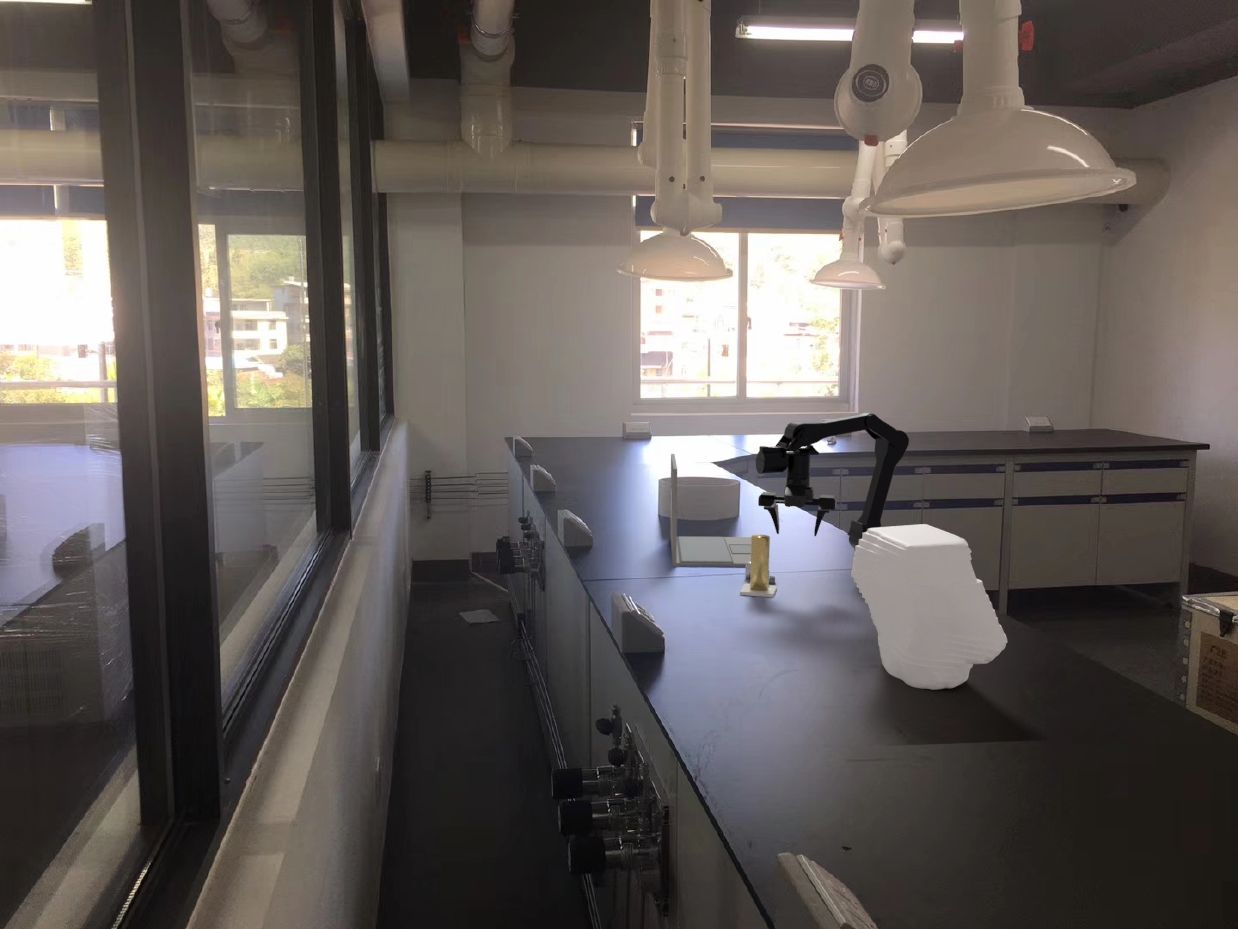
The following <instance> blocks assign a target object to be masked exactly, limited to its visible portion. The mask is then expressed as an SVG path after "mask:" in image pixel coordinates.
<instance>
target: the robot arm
mask: <svg viewBox="0 0 1238 929" xmlns="http://www.w3.org/2000/svg"><path fill="white" fill-rule="evenodd" d="M861 431H865V433H866V434H867V435H868V436H869V437H870V438H872V439H873V440H874V441H875V442H874V453H875V454H874V456H875V461H876V462H875V466H874V469H873V473H872V475H871V476H872V477H871V480H870V483H869V484H870V485H869V487H868V491H867V494H866V497H865V498H866V499H865V502H864V506H863V510H862V514H861V516H860V517H859V518H858V520H857V521H856V520H854V519H852V520H851V521H850V528H849V531H848V533H847V536H848V542H849V543H848V544H850V546H851V548H853V550H854V551H855V546H857V545H859V539H862V533H864V532H866V531H867V530H868V529H869V528H877V527H882V517H883V514H884V510H885V506H886V502H887V499H888V495H889V493H890V492H889V491H890V487H891V484H892V481H893V476H894V473H895V469H896V467H897V465H898V464H899V462H900V461H901V460H902V459H903V458H904V456H905V454H906V452H907V449H908V447H909V444H910V438H909V437H908V434H907V433H906V432H905V431H903V430H901V429H896V428H895V427H894V426H892V425H890V424H888V423H887V422H885V421H884V420H882V419H881V418H879V416H877V415H876V414H874V413H871V412H862V413H860V414H855V415H851V416H845V417H840V418H839V417H838V418H833V419H828V420H824V421H791V422H789V423H788V424H787V426H786V427H784V433H783V434H782V436H781V438H780V439H779V441H777V443H776V445H775V446H766V445H760V446H759V451H758V452H757V455H756V458H755V469H756V472H757V473H758V474H759V475H771V474H772V475H774V474H775V475H777V474H784V472H785V471H786V474H785V476H786V482H785V484H786V485H785V487H784V495H778V493H777V492H772V491H771V492H770V491H763V492H761V493H760V495H759V496H758V501H757V502H758V503H757V504H758V507H763V510H764V511H765V510H766V511H768V513H769V515H770V516H771V517H770V518H771V519H772V521H773V525H774V528H775V532H776V534H777V535H779V534H780V515H779V513H780V512H779V505H778V504H783V505H784V506H785V507H786V508H791V507H794V508H795V507H797V508H805V506H818V509H817V511H816V519H815V526H814V532H813V533H814V534H813V536H814V537H817V534H818V531H819V529H820V525H821V524H822V521H823V519H824V517H825V514H829V513H831V511H832V510H833V511H834V510H836V508H837V506H838V505H837V501H838V500H837V499H838V498H837V496H835V495H834V494H833V495H832V494H820V495H819V497H814V495H815V494H814V493H815V492H814V487H813V486H810V484H811V482H810V481H811V456H818V455H819V454H820V452H819V451H818V450H817V449H816V448H815V447H814V444H817V443H818V442H820V441H822V440H823V439H827V438H830V437H835V436H841V435H845V434H850V433H855V432H861Z"/></svg>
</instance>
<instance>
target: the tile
mask: <svg viewBox="0 0 1238 929" xmlns="http://www.w3.org/2000/svg"><path fill="white" fill-rule="evenodd" d="M777 590H778V585H774V584H769V585H768V590H766V591H755V590H752V589H750V583H744V584H743V586H742V588H741V589H740V591H739V596H740V595H741V596H753V597H763V598H765V597H766V598H774V597H775V594H776V592H777Z"/></svg>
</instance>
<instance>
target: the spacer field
mask: <svg viewBox="0 0 1238 929" xmlns="http://www.w3.org/2000/svg"><path fill="white" fill-rule="evenodd" d="M750 571H751V562H746V567H745V575H744V576H745V579H747V580H750ZM775 584H776V576H774V575H769V578H768V585H775Z"/></svg>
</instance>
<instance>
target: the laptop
mask: <svg viewBox="0 0 1238 929" xmlns="http://www.w3.org/2000/svg"><path fill="white" fill-rule="evenodd" d="M677 524H678V466H677V460H676V455H675V453H671V454H670V527H669V528H670V532H669V534H670V546H671V547H670V549H671V558H672V559H671V561H672V567H689V568H690V567H692V568H693V567H698V568H699V567H701V568H702V567H705V568H707V567H708V568H709V567H710V568H712V567H713V568H714V567H715V568H717V567H718V568H724V567H725V568H746V562H751V538H752V536H751V537H750V536H702V535H701V536H699V535H698V536H696V535H695V536H689V535H687V536H686V535H685V536H684V535H683V536H680V535H678V532H677V531H678V525H677ZM677 535H678V536H677Z"/></svg>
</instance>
